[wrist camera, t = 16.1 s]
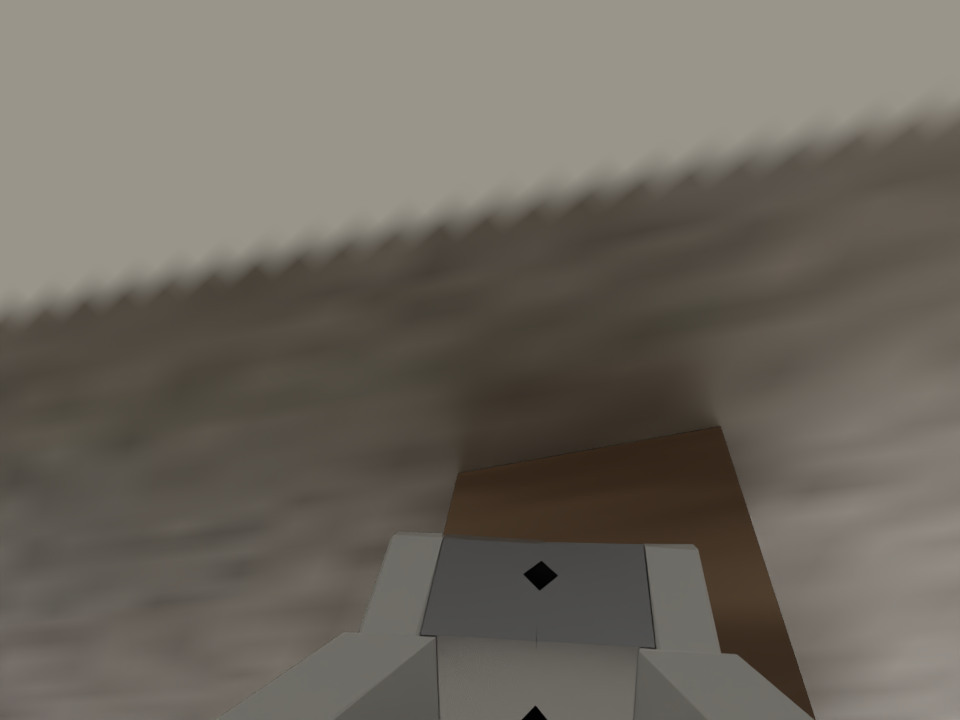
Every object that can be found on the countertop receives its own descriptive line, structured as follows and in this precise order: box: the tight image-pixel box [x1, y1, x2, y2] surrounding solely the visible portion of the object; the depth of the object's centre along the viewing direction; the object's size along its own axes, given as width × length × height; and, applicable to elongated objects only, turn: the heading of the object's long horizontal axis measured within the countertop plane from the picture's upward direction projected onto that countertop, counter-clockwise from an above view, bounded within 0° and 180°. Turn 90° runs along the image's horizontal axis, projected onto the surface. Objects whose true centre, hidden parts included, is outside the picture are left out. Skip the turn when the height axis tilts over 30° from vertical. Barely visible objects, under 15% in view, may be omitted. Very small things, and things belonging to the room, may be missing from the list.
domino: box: [444, 426, 815, 720], centre depth 13 cm, size 2×5×10 cm, turn 105°
